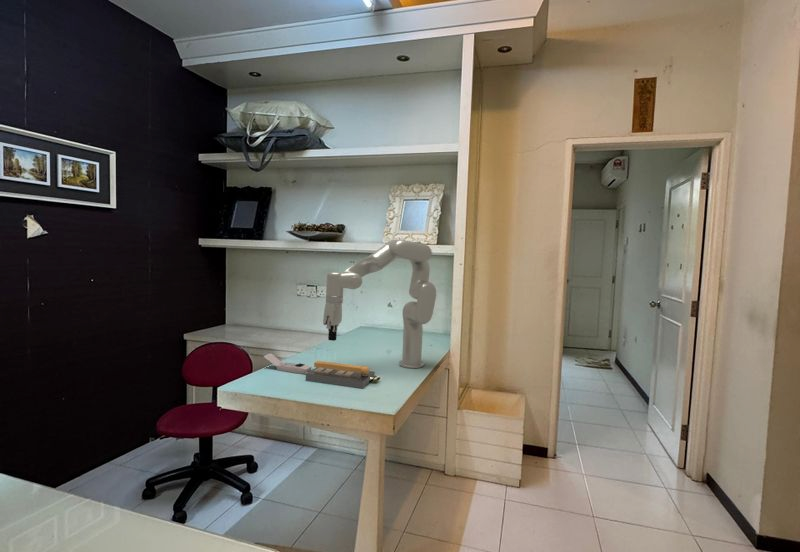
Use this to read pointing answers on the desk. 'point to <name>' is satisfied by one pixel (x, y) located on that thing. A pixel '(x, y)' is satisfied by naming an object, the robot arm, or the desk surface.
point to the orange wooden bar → (342, 367)
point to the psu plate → (339, 377)
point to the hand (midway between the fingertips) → (332, 340)
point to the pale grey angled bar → (288, 365)
